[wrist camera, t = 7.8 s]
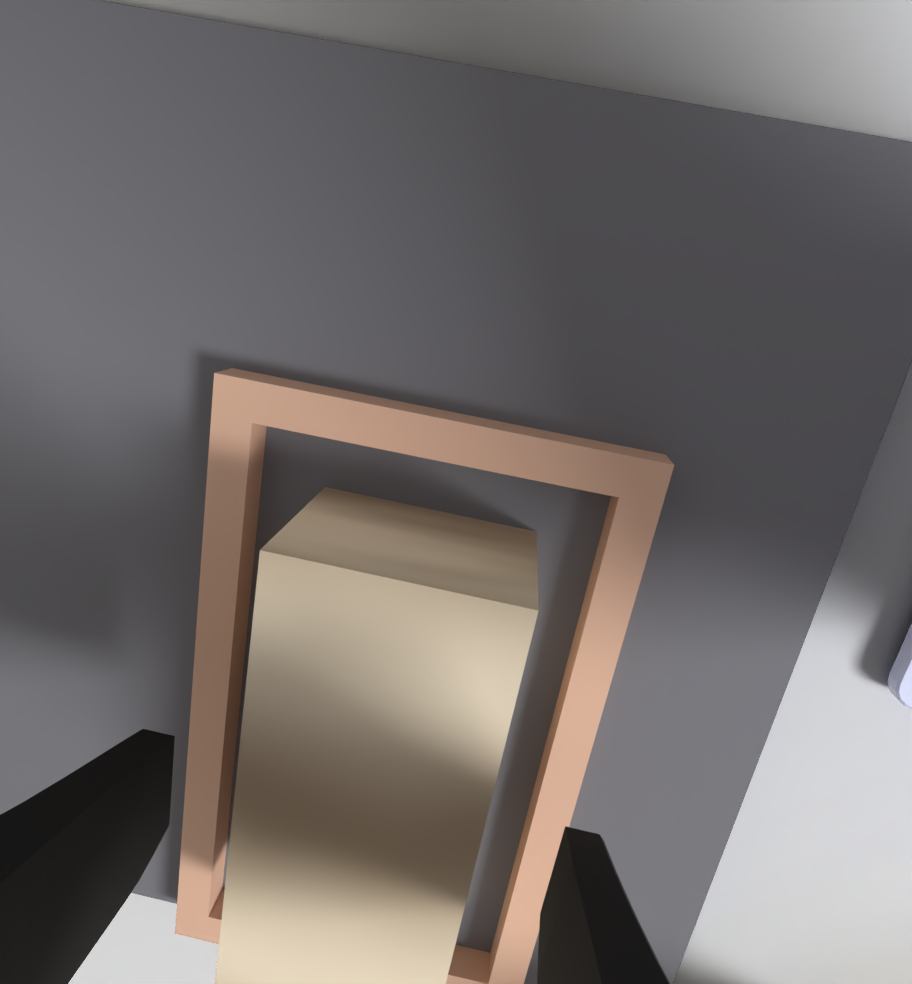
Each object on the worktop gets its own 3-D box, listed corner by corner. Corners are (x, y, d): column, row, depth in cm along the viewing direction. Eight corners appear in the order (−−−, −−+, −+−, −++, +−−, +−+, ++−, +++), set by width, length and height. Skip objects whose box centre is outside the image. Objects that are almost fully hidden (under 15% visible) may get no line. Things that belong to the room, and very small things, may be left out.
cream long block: (447, 903, 17) (427, 1057, 13) (275, 862, 17) (213, 1004, 13) (536, 531, 14) (538, 610, 10) (325, 486, 14) (260, 550, 10)
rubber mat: (971, 160, 11) (990, 155, 11) (655, 998, 17) (659, 1019, 17) (-337, -68, 13) (-372, -82, 12) (-209, 793, 19) (-228, 806, 18)
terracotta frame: (666, 454, 13) (674, 464, 12) (515, 983, 17) (514, 1015, 16) (232, 368, 13) (214, 373, 13) (190, 905, 18) (174, 933, 17)
